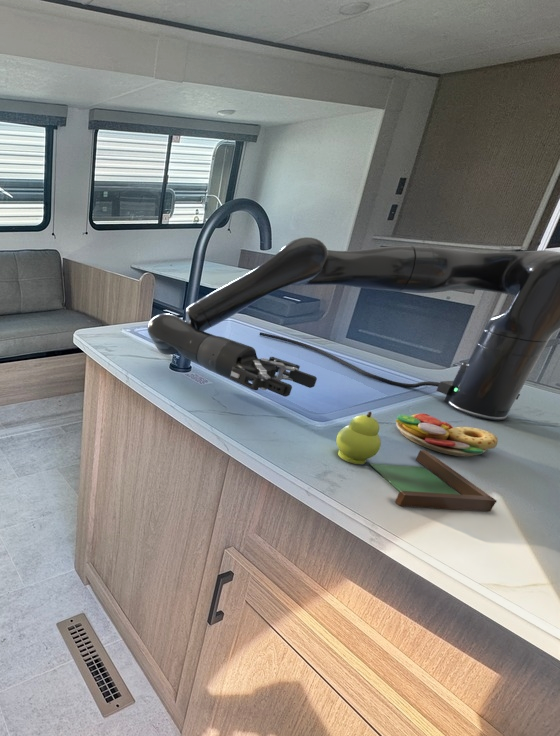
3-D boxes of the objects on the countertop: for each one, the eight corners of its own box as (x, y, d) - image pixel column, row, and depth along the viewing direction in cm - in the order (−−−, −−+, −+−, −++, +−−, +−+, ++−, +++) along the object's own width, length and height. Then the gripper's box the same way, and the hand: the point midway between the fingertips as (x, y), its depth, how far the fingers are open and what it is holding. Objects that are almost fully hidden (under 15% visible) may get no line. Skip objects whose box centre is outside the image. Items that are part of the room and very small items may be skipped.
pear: (322, 449, 75) (339, 404, 71) (350, 446, 76) (368, 402, 72) (352, 469, 69) (372, 422, 66) (381, 466, 71) (402, 419, 67)
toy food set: (501, 453, 76) (510, 438, 75) (460, 468, 71) (469, 451, 70) (418, 418, 87) (424, 404, 86) (378, 429, 82) (384, 414, 81)
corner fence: (345, 455, 73) (349, 445, 72) (421, 459, 73) (426, 450, 72) (399, 506, 61) (405, 495, 61) (490, 511, 61) (497, 500, 60)
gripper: (207, 344, 84) (287, 374, 72) (250, 336, 91) (329, 361, 79) (199, 379, 87) (275, 413, 75) (241, 368, 94) (316, 397, 82)
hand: (302, 387), depth 77 cm, fingers open, 8 cm apart
